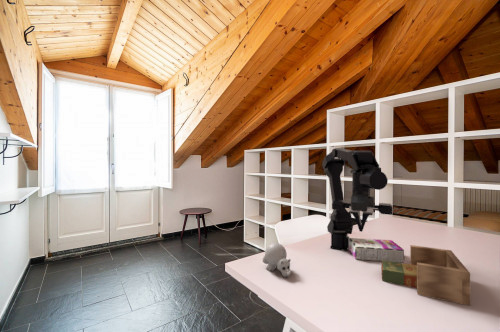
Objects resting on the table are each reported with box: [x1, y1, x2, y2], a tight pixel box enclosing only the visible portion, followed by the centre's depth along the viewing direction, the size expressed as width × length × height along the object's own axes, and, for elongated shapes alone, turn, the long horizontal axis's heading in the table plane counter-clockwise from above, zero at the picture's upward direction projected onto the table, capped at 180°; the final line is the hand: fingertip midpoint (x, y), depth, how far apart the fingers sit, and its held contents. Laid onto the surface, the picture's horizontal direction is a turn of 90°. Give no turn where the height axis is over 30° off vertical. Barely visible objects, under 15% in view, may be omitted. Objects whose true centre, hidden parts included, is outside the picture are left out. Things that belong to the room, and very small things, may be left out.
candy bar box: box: [348, 237, 405, 263], centre depth 90 cm, size 11×5×16 cm
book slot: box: [409, 244, 471, 307], centre depth 68 cm, size 10×18×8 cm, turn 151°
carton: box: [381, 260, 417, 289], centre depth 69 cm, size 8×16×4 cm, turn 61°
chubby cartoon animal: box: [262, 242, 291, 278], centre depth 76 cm, size 7×12×8 cm, turn 25°
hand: (361, 231), depth 82 cm, fingers closed
